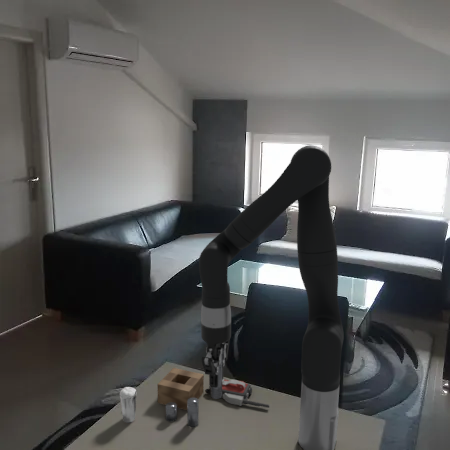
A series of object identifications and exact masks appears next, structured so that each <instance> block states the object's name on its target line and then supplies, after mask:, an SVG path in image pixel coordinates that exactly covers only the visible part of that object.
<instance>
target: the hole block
mask: <svg viewBox="0 0 450 450" xmlns="http://www.w3.org/2000/svg"><path fill="white" fill-rule="evenodd" d="M204 374H205V373H204ZM204 374H203V373H199V372H194V371H189V370H186V369H185V370H184V369H181V368H177V367H173V368H172V369H171V370H170V371H169V372H167V374H166V375H165V376H164V377H163V378H162V379H161V380H160V381H159V382H158V383H157V404H161V405H164V406H166V404H167V403H169V402H174V403H176V404H177V409H180V410H185V411H187V400H188V399H189V398H197V399H198V400H199V399H200V398H201V396H202V395H203V394H204V387H205V386H204V379H205V378H204V376H205V375H204Z"/></svg>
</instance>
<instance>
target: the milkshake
mask: <svg viewBox="0 0 450 450" xmlns="http://www.w3.org/2000/svg"><path fill="white" fill-rule="evenodd" d="M137 392H138V389H136V388H134V387H131V386H125V387H123V388H122V389H121V390H120V391H119V398H120V405H121V407H120V408H121V414H122V421H123V422H124V423H127V424H128V423H130V424H131V423H133V422H134V421H135V420H136V411H137V394H138V393H137Z"/></svg>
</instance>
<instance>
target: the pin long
mask: <svg viewBox="0 0 450 450" xmlns="http://www.w3.org/2000/svg"><path fill="white" fill-rule="evenodd" d="M214 361H215V360H214ZM215 362H217V361H215ZM214 367H215V366H214ZM210 397H211V398H212V399H213V400H214V399H215V400H216V399H217V400H218V399H221V397H222V354H221V364H220V365H219V370H218V387H217V388H215V387H211V395H210Z"/></svg>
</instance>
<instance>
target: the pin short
mask: <svg viewBox="0 0 450 450" xmlns="http://www.w3.org/2000/svg"><path fill="white" fill-rule="evenodd" d="M177 419H178V408H177V404H176V403H174V402H169V403H167V404H166V405H165V420H166V421H167V422H170V423H171V422H172V423H173V422H176V421H177Z"/></svg>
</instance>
